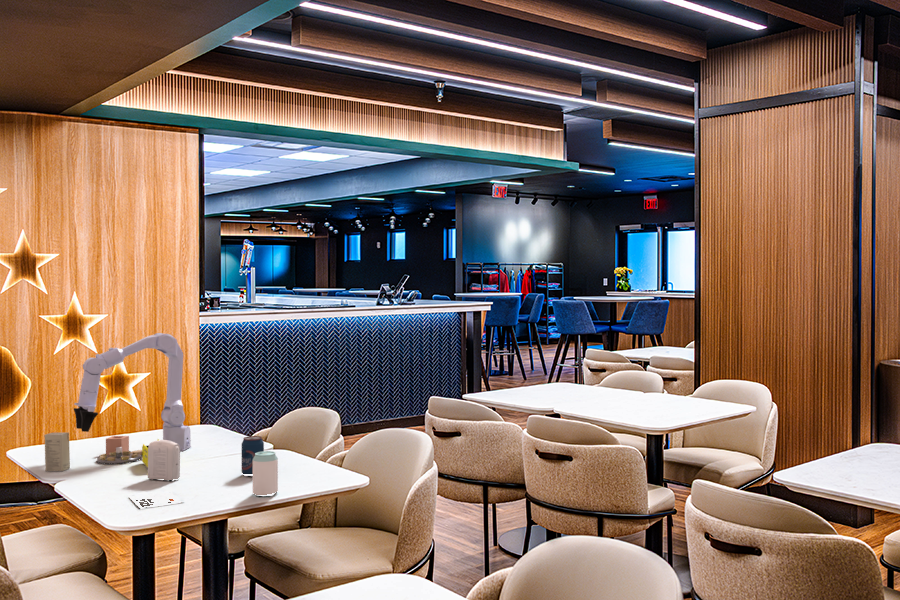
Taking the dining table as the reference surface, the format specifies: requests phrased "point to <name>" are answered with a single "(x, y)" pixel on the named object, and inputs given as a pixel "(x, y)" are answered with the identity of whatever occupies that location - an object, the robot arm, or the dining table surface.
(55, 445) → the skincare box
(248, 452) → the soda can
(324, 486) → the dining table surface
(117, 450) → the hub
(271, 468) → the can
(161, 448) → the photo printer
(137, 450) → the cork coaster
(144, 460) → the yellow toy chassis
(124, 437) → the pink square tube
